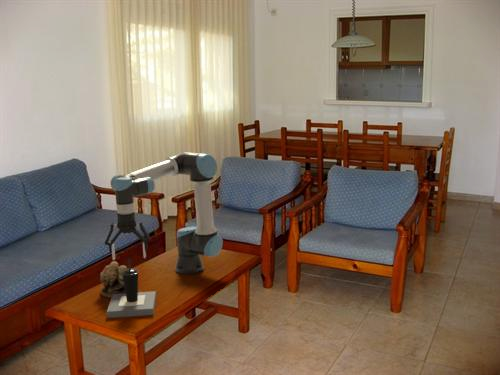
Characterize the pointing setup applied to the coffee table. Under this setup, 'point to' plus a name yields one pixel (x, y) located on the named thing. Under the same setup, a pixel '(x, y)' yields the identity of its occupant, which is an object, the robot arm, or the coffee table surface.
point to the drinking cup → (131, 283)
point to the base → (132, 305)
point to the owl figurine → (112, 280)
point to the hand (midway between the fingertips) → (129, 258)
